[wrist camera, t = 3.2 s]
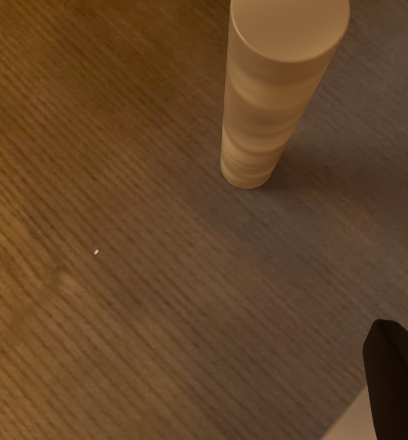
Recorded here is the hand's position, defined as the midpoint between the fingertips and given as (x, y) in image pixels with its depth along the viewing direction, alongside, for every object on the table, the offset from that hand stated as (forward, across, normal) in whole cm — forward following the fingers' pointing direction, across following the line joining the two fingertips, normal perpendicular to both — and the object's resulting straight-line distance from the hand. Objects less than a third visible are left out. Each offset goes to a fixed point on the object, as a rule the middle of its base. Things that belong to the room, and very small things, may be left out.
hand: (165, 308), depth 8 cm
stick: (+15, -2, +3) cm, 16 cm away
